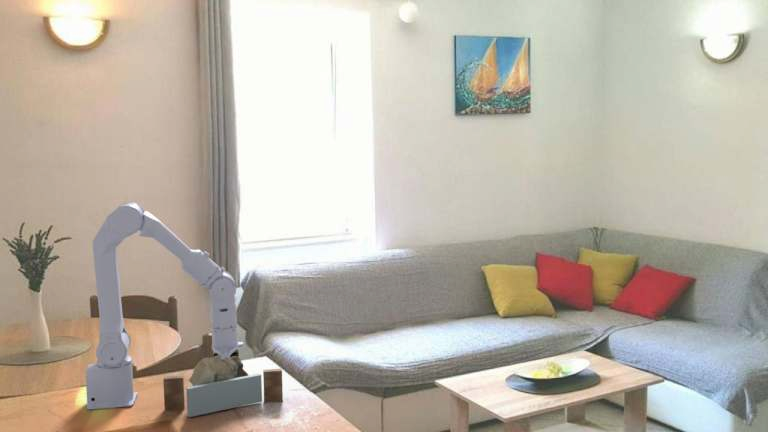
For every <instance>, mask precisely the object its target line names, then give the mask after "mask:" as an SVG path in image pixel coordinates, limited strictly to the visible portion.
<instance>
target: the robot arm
mask: <svg viewBox="0 0 768 432" xmlns="http://www.w3.org/2000/svg"><path fill="white" fill-rule="evenodd" d="M104 219H105V220H104V222H103V223H102V225H101V226H100V228H99V230H98V231H97V233H96V234H95V236H94V238H93V240H92V252H93V262H94V263H93V264H94V272H95V282H96V293H97V304H98V307H97V308H98V315H99V316H98V317H99V329H98V330H99V331H98V337H99V339H98V340H99V341H98V345H97V346H96V351H95V356H96V359H97V361H96V363H92V364H91V363H90V364H88V365H87V368H86V372H85V388H86V389H85V391H86V404H87V406H86V410H99V409H112V408H113V409H114V408H124V407H125V408H126V407H127V408H128V407H133V406H134V403H135V402H136V399H137V396H138V392H137V391H134V378H133V376H134V375H133V360H132V359H133V358H132V357H131V355H129V353H128V352H129V351H128V350H129V348H130V346H131V336H130V335H129V333H128V331H127V330H126V325H125V324H126V323H125V320H124V316H123V305H122V293H121V283H120V282H121V281H120V271H119V260H118V250H117V249H118V248H117V247H118V246H120V245H121V244H122V242H124V240H125V239H127V238H128V237H132V236H133V235H134V234H136V233H137V232H138V231H140V233H139V237H146V238H152V239H154V240H155V241H157V243H159V244H160V245H161V246H163V248H165V249H166V250H168V251H169V252H170V253H171V254H173V256H175V257H176V258H178V260H180V261H181V269H182V271H184V272H185V273H186V274H187V275H188V276H190V278H192V279H193V280H194V281H196V283H198V284H199V285H200V286H201V287H202V288H205V289H208V294H209V296H210V299H211V300H210V301H211V305H210V323H211V324H210V326H211V339H212V340H211V341H212V344H211V350H212V351H213V357H214V356H217V355H220V354H221V360H223V359H225V358H226V357H228V358H229V360H230V357H232V356H237V357H239V349H240V348H244V341H239V337H238V335H239V332H238V315H237V304H236V296H235V295H236V293H237V287H236V283H235V279H234V277H233V276H232V275H231V273H230V272H229V271H227V270H226V268H225V267H224V266H221V267H220V266H219V265H218V264H217V263H216V262H215V261H214V260H212V259H211V258H210V253H209V252H207V251H206V250H205V251H202V250H201V249H191V248H190V247H189V246H188V245H187V244H186V243H184V241H182V240H181V239H180V237H178V236H177V235H176V234H175V233H174V232H173V231H172V230H170V228H168V227H167V225H165V223H163V222H162V221H161V220H160V219H158V218H157V217H156V216H155V215H153V214H152V213H151V212H149V211H148V210H144V209H143V207H142V206H141V205H140V204H138V203H136V202H131V201H128V202H125V203H123V204H121V205H119V206H118V207H117V208H116V209H114V210H113V211H112V212H111V213H110V214H108V215H107V216H106V218H104Z"/></svg>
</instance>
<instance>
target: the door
mask: <svg viewBox="0 0 768 432" xmlns="http://www.w3.org/2000/svg"><path fill="white" fill-rule="evenodd" d="M248 375H249V376H243V377H238V378H233V379H228V380H223V381H217V382H212V383H207V384H202V385H197V386H193V385H192V386H187V387H186V388H185V389H186V413H187V417H189V418H191V417H197V416H200V415H206V414H211V413H216V412H219V411H220V412H221V411H223V410H224V411H225V410H228V409H234V408H239V407H242V406H243V407H244V406H247V405H253V404H257V403H262V402H263V391H262V390H263V388H262V386H263V384H262V383H263V382H262V374H261V373H256V374H248Z"/></svg>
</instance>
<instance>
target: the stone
mask: <svg viewBox="0 0 768 432" xmlns="http://www.w3.org/2000/svg"><path fill="white" fill-rule="evenodd" d="M249 375H250V374H248V372H247V371H245V370H244V363H243V362H242V359H240V357H239V356H238V357H237V356H232V357H230V360H229V358H228V357H226V358H225V359H223V360H221V354H220V355H217V356H214V357H203V359H201V360H200V361H199V362H198V363H197V364H196V365H195V366H194V368H193V372H192V374H191V376H190V377H189V379H188V381H189V383H191V385H192V386H197V385H202V384H207V383H212V382H217V381H223V380H228V379H233V378H238V377H243V376H249Z"/></svg>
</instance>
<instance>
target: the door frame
mask: <svg viewBox="0 0 768 432" xmlns="http://www.w3.org/2000/svg"><path fill="white" fill-rule="evenodd" d="M262 372H263V374H262V375H263V403H264V404H268V403H269V404H270V403H280V402H281V403H282V402H283V401H284V398H283V395H284V394H283V393H284V392H283V368H270V369H263V371H262ZM162 379H163V382H162V383H163V400H164V401H163V402H164V403H163V404H164V412H166V411H167V412H168V411H180V410H181V411H182V410H185V407H186V405H185V384H184V383H185V382H184V379H185V377H184V375H171V376H169V375H167V376H164V377H163V378H162Z"/></svg>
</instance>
